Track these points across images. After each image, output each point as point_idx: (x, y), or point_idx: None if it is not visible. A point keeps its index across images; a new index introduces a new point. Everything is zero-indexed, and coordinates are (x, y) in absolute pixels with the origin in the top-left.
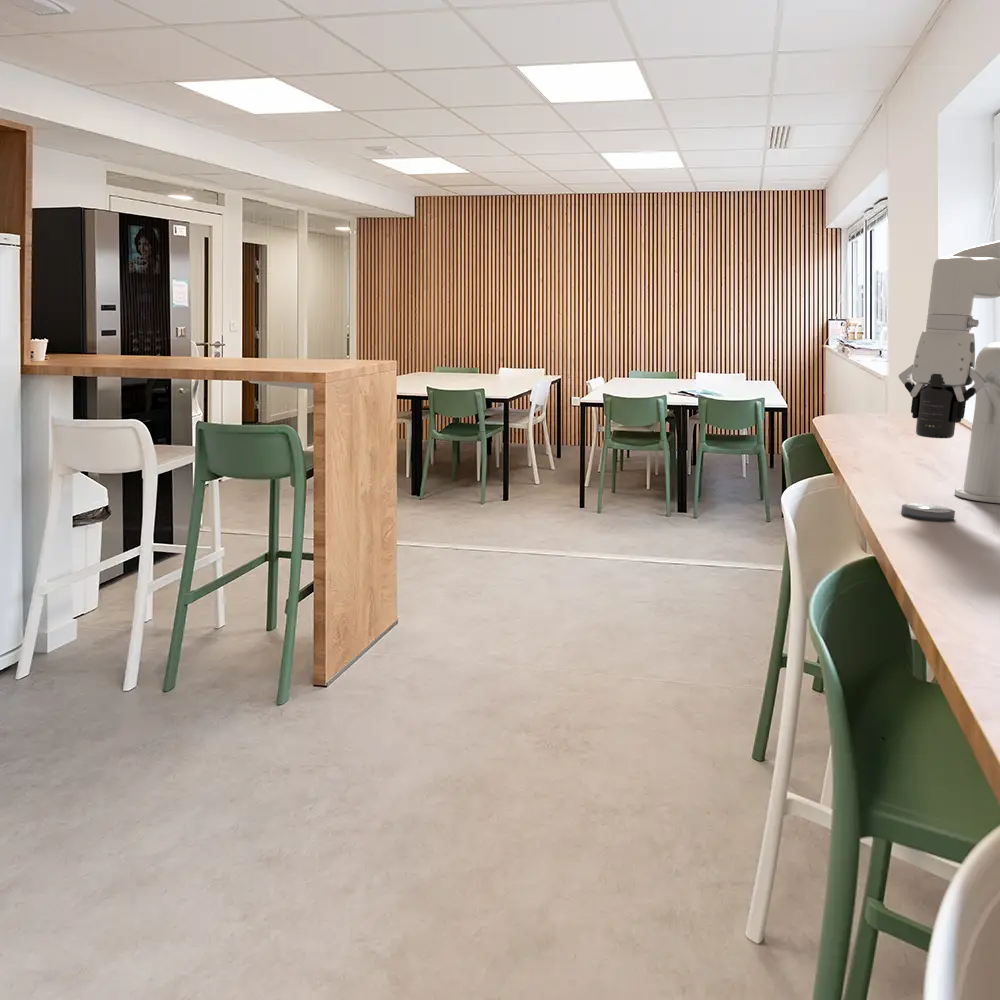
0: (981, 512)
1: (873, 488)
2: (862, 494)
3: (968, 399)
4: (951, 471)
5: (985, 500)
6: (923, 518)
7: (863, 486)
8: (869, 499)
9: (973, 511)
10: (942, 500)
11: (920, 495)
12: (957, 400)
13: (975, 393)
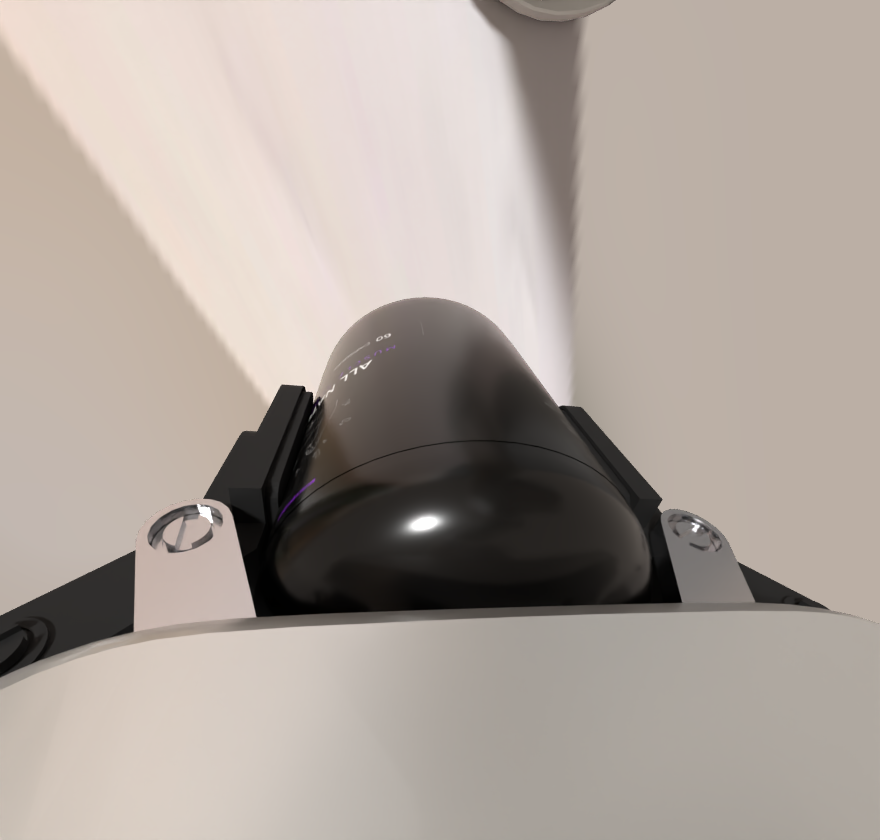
0: (550, 265)
1: (112, 41)
2: (190, 261)
3: (707, 522)
4: None
5: (564, 20)
6: None
7: (49, 16)
8: (257, 335)
9: (530, 269)
10: (420, 122)
11: (324, 61)
12: None
13: (799, 599)
